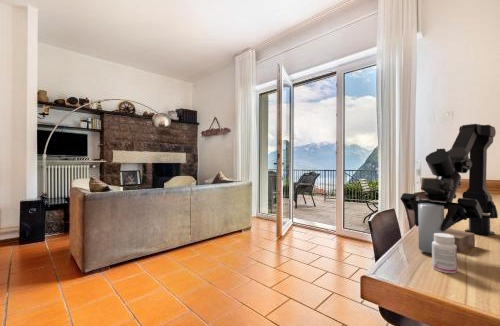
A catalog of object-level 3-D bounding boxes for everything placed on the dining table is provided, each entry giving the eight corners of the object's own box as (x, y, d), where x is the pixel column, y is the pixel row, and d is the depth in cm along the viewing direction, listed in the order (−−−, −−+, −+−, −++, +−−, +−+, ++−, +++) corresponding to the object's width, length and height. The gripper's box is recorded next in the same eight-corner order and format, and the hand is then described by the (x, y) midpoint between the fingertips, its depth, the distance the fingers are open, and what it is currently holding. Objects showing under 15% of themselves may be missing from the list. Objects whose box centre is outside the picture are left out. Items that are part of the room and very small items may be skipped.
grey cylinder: (425, 245, 74) (424, 202, 74) (449, 251, 68) (448, 205, 68) (414, 248, 71) (413, 204, 71) (438, 255, 65) (437, 207, 65)
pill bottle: (462, 274, 56) (461, 238, 56) (438, 273, 57) (438, 237, 57) (449, 266, 61) (449, 232, 61) (428, 264, 62) (427, 231, 62)
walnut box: (437, 237, 84) (437, 226, 84) (474, 246, 75) (474, 233, 75) (421, 242, 79) (421, 230, 79) (459, 252, 70) (459, 238, 70)
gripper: (402, 168, 80) (384, 205, 74) (477, 169, 64) (461, 216, 58) (415, 190, 84) (398, 227, 78) (488, 196, 68) (474, 243, 62)
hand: (428, 227), depth 69 cm, fingers closed on grey cylinder, 6 cm apart
